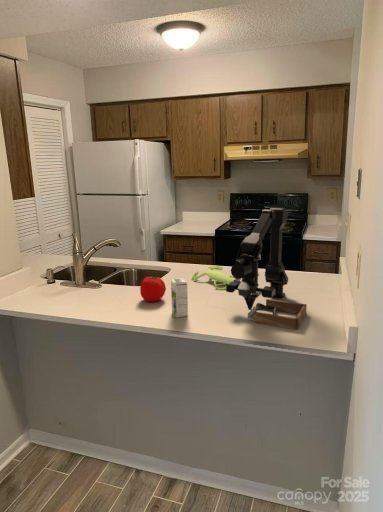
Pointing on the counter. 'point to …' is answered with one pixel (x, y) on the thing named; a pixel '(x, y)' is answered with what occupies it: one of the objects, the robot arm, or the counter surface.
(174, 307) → the white tall box
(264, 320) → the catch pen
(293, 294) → the counter surface
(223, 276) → the figurine
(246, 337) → the counter surface
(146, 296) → the tomato
